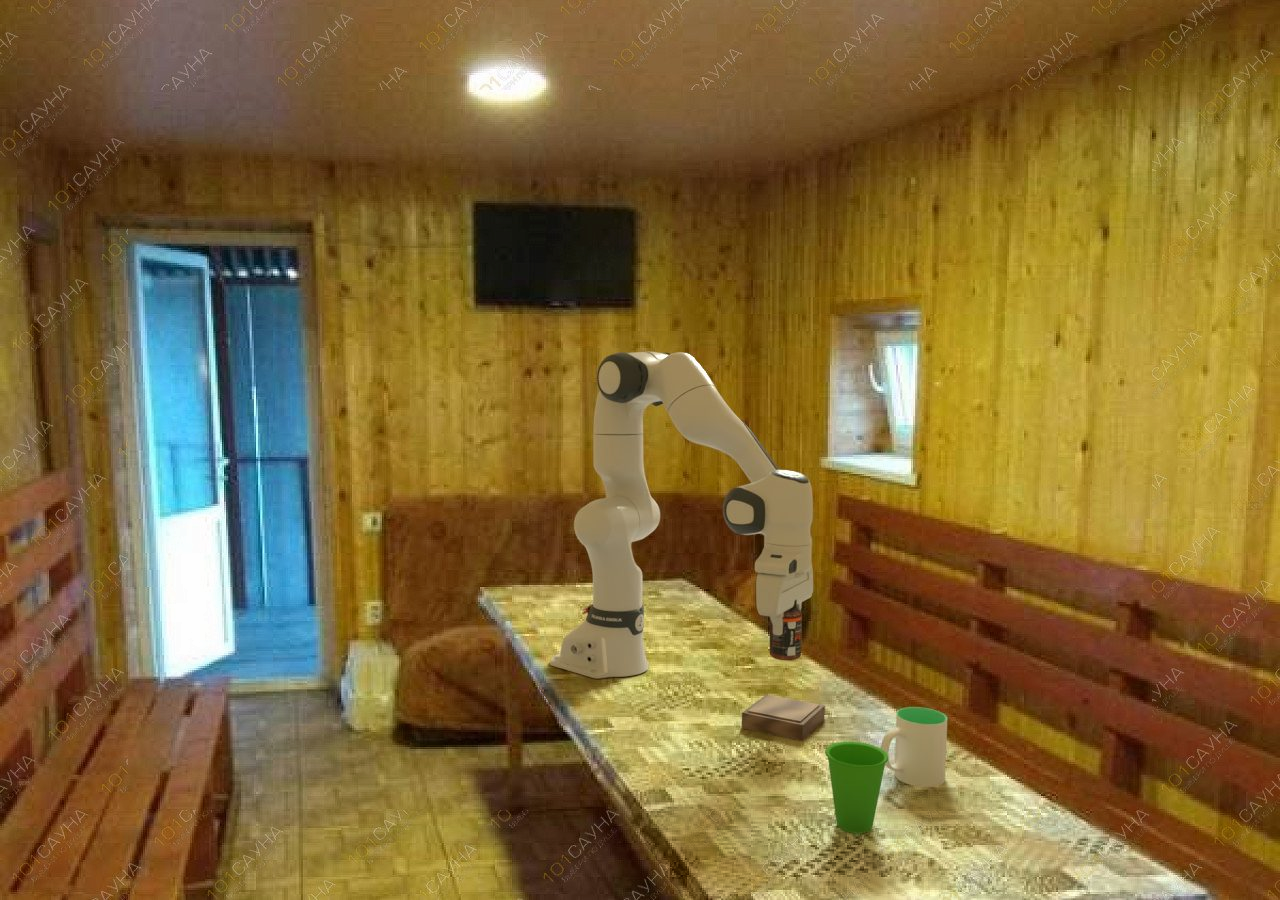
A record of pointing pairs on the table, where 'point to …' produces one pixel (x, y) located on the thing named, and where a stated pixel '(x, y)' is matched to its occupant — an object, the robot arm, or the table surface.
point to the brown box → (783, 717)
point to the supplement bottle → (787, 636)
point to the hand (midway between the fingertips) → (785, 629)
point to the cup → (855, 783)
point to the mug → (918, 746)
